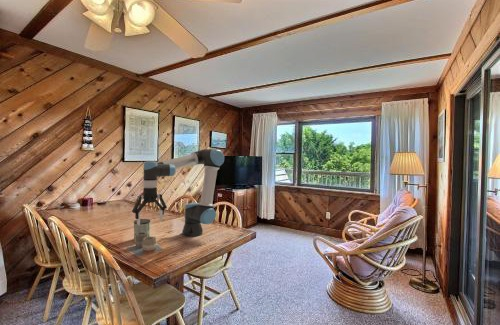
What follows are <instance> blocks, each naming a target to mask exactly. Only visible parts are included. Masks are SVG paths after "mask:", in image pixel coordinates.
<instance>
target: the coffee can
mask: <svg viewBox="0 0 500 325" xmlns="http://www.w3.org/2000/svg"><path fill="white" fill-rule="evenodd" d="M138 232H147V237H149V236H150V237H151V219H149V218H140V225H138V224H137V219H134V221H133V241H134V242H135V243H136V233H138Z"/></svg>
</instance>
